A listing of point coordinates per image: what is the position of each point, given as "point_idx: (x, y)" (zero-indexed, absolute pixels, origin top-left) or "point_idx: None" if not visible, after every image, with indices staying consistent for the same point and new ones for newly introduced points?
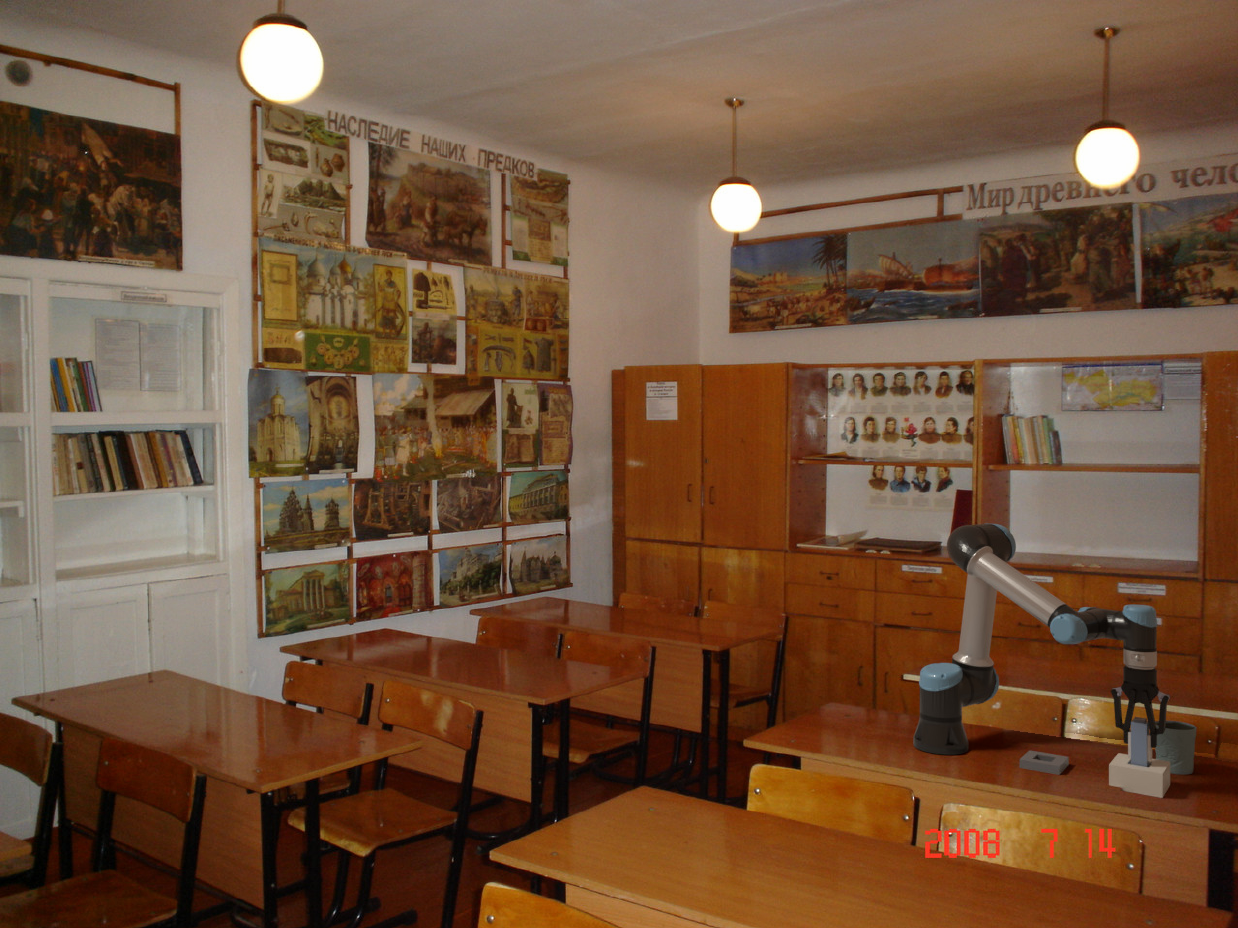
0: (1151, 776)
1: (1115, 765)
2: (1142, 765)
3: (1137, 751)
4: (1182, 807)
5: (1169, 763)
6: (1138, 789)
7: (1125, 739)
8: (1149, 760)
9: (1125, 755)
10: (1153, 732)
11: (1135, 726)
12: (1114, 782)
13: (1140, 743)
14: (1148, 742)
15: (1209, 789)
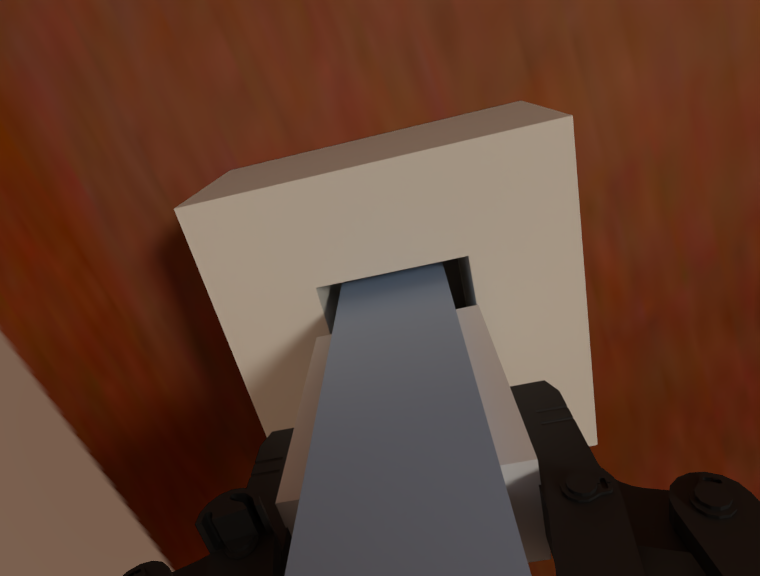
0: (258, 183)
1: (520, 132)
2: (366, 293)
3: (404, 338)
4: (74, 88)
5: None
6: (352, 145)
7: (546, 408)
8: (321, 337)
9: None
10: (230, 550)
11: (447, 541)
12: (496, 111)
13: (378, 392)
14: (308, 434)
15: (172, 461)
